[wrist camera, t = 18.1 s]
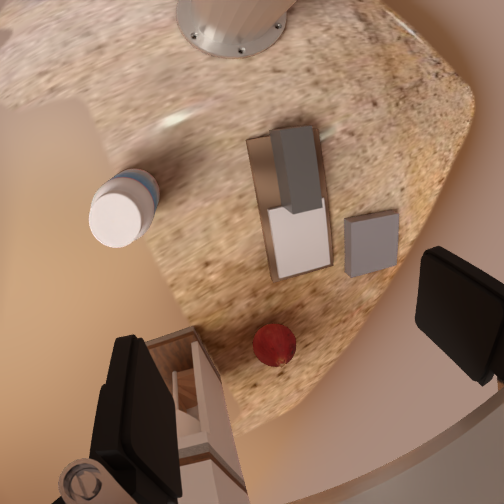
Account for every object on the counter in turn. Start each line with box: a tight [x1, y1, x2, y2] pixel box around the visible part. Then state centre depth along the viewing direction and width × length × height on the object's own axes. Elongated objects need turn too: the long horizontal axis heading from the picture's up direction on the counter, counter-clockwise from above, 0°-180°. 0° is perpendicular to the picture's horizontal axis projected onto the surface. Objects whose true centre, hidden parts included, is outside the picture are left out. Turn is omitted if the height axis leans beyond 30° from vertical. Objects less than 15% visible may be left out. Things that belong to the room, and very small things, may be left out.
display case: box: [145, 326, 250, 504], centre depth 27 cm, size 11×11×35 cm
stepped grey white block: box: [267, 126, 330, 278], centre depth 35 cm, size 18×7×4 cm, turn 10°
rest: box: [246, 129, 333, 283], centre depth 37 cm, size 18×8×1 cm, turn 10°
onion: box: [252, 323, 296, 367], centre depth 40 cm, size 6×6×8 cm
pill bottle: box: [89, 169, 160, 248], centre depth 28 cm, size 6×6×11 cm
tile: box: [344, 210, 399, 278], centre depth 42 cm, size 8×2×8 cm
